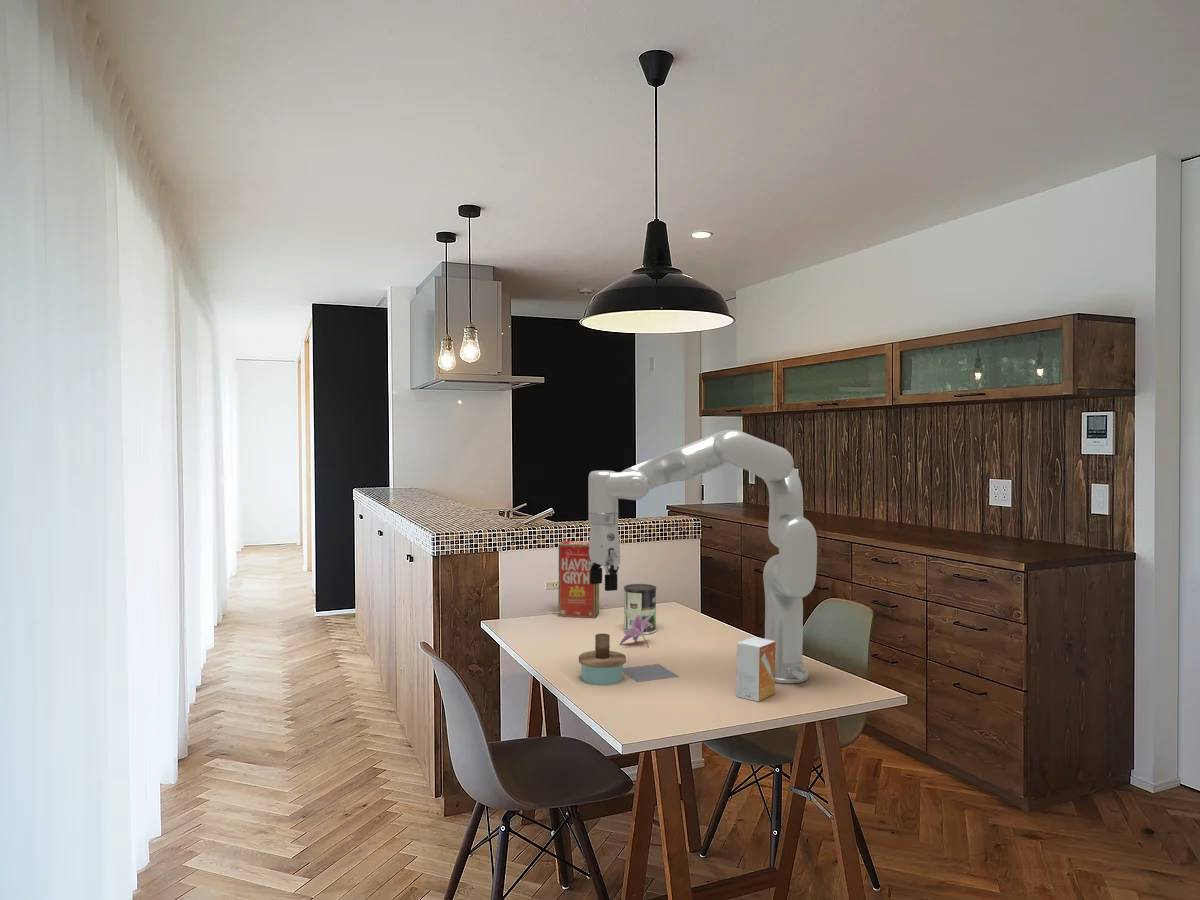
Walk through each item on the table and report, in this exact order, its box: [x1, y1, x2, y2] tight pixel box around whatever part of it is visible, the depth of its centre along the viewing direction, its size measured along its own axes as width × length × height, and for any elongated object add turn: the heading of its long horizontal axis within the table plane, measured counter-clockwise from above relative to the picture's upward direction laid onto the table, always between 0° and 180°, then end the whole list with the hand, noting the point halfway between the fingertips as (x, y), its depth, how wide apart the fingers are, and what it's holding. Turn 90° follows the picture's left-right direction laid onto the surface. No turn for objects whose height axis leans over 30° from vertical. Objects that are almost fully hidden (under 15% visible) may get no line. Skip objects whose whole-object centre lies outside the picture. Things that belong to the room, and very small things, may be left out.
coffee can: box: [623, 583, 657, 635], centre depth 254 cm, size 10×10×14 cm
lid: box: [578, 633, 627, 668], centre depth 203 cm, size 12×12×6 cm
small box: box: [735, 636, 776, 702], centre depth 192 cm, size 8×6×13 cm
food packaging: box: [557, 540, 600, 619], centre depth 276 cm, size 13×9×25 cm
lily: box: [619, 615, 652, 648], centre depth 237 cm, size 12×12×10 cm
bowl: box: [580, 663, 624, 686], centre depth 203 cm, size 10×10×5 cm
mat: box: [623, 663, 680, 683], centre depth 208 cm, size 12×12×1 cm
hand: (603, 586), depth 202 cm, fingers open, 9 cm apart
